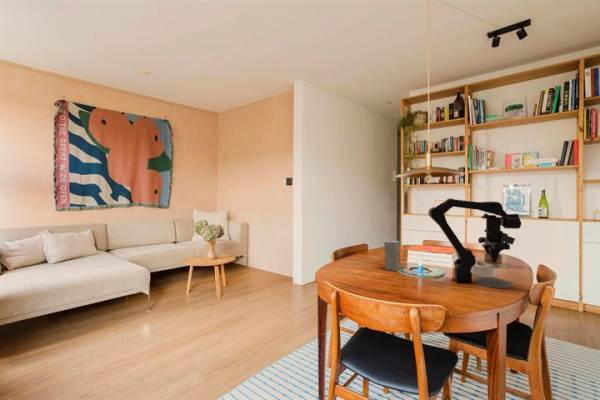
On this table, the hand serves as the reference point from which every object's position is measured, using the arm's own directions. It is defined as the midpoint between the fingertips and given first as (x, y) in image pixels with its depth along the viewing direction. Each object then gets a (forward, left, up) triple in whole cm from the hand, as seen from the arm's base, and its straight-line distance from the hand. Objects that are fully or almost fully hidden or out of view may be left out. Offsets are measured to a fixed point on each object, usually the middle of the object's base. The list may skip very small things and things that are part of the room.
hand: (492, 261), depth 141 cm
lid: (0, 0, -2) cm, 2 cm away
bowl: (+2, +16, -10) cm, 19 cm away
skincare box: (-43, +21, -11) cm, 49 cm away
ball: (+2, +16, -8) cm, 18 cm away
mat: (0, 0, -10) cm, 10 cm away
